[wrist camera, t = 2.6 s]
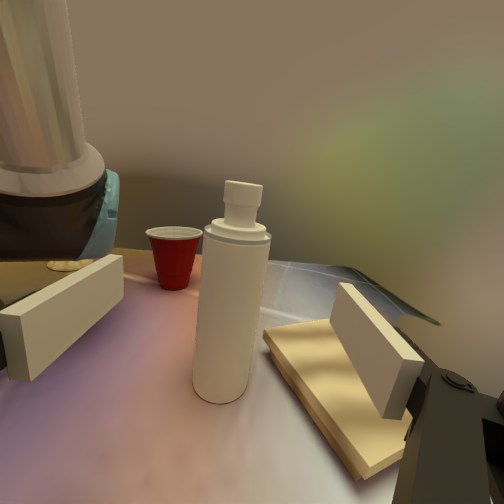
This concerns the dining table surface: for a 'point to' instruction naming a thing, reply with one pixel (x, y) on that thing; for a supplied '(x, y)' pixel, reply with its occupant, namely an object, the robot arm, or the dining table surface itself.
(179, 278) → the plastic cup
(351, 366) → the stand
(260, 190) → the spray bottle
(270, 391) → the dining table surface
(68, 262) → the hand bell
